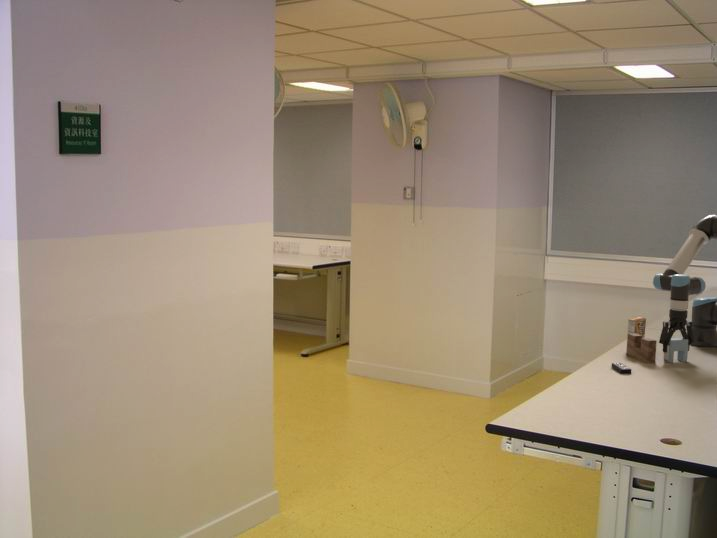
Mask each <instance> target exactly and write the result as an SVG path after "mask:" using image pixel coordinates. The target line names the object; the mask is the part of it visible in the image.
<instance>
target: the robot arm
mask: <svg viewBox="0 0 717 538" xmlns="http://www.w3.org/2000/svg"><path fill="white" fill-rule="evenodd" d="M710 240H717V214H709V215H707V216H706V217H703V218H702V219H700V220H699V221H698V222H696V223H695V224H694V225H693V227H691V229H690V230H689V232H688V238H686V240H685V242H684V243H683V245H682V246H681V247H680V249H679V250H678V252H677V253H676V254H675V256H674V258H673V259H672V260H671V261H670V263H669V264H668V266H667V268H666V269H665V271H664V272H663V273H657V274H655V275H654V277H653V280H652V285H653V287H654V288H655V289H656V290H659V291H662V292H663V291H665V292H666V291H667V292H670V297H669V298H670V299H669V308H670V309H669V311H668V313H669V315H668V317H669V320H668V321H662V330H661V333H660V336H659V341H658V344H660V345H662V353H663V360H664V359H666V360H669V345H668V344H669V342H670V340H671V338H673V336H674V333H676V331H679V332H680V334H681V338H684V339H688V352H687V359H689V358H688V355H689V351H690V346H697V347H705V348H713V347H714V348H715V347H717V297H714V296H713V297H708V296H707V297H697V298H694V299H693V300H692V306H691V320H687V319H688V313H689V312H688V309H689V296H692V295H698V294H701V293H703V292H704V291H705V289H706V281H705V280H704V279H703V278H701V277H698V276H697V277H696V276H693V277H690V275H688V274H684V273H685V272H686V271H687V269H688V268H689V266H690V265H691V264H692V261H694V259H695V258H696V256H697V255H698V253H699V252H700V250H701V249H702V247H703V246H704V245H707V244H708V243H709V242H710Z"/></svg>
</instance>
